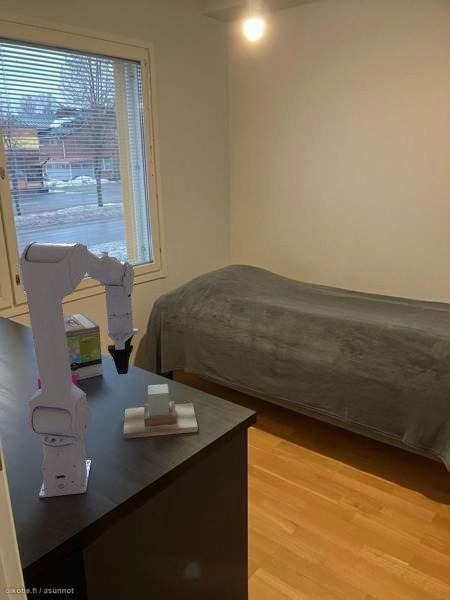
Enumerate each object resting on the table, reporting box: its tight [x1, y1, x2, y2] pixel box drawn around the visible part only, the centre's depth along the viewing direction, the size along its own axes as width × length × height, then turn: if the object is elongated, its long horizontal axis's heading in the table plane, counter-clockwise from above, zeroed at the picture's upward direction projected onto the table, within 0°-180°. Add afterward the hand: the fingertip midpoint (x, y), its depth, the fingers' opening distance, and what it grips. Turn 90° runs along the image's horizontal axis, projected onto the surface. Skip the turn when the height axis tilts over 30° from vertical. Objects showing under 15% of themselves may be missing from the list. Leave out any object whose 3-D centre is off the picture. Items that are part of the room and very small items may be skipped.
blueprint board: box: [122, 400, 199, 439], centre depth 107 cm, size 11×16×3 cm
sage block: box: [147, 383, 170, 415], centre depth 106 cm, size 4×4×5 cm
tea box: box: [63, 313, 104, 381], centre depth 134 cm, size 15×10×15 cm, turn 33°
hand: (123, 366), depth 112 cm, fingers open, 7 cm apart
